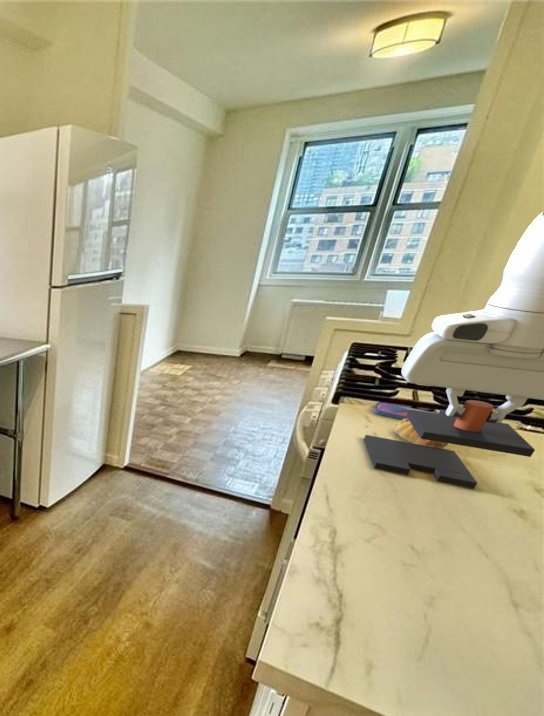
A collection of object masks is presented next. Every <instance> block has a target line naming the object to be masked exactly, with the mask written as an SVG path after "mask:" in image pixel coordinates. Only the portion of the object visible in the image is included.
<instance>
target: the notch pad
mask: <svg viewBox="0 0 544 716" xmlns="http://www.w3.org/2000/svg"><path fill="white" fill-rule="evenodd" d="M363 442H364V444H365V445H364V446H365V447H366V450H367V452H368V455H369V458H370V460H371V463H372V466H373V468H374V469H375V470H381V471H386V472H390V473H395V474H401V475H405V476H409V475H410V472H411V471H412V470H413V471H416V472H417V471H418V472H421V473H427V474H432V476H433V477H434V479H435V481H436V482H439V483H445V484H449V485H455V486H459V487H464V488H470V489H475V488H476V486H477V485H478V482H477V481H476V479H475V478H474V476H473V474H471V472H470V471H469V469H468V468H467V467H466V465H465V464H464V462H463V461H462V459H461V458H460V456H459V455H458V454H457V452H456V451H455V450H451V449H446V448H435V447H430V446H424V445H419V444H414V443H412V442H409V441H402V440H396V439H390V438H386V437H381V436H376V435H375V436H374V435H369V434H365V435H364V438H363Z"/></svg>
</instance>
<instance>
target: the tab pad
mask: <svg viewBox="0 0 544 716" xmlns="http://www.w3.org/2000/svg"><path fill="white" fill-rule="evenodd" d="M463 405H464V407H466V410H465V412H464V413H462V414H463V416H462V417H461V418H457V417H449V416H447V415H446V410H447V409H440V410H439V412H434V413H430V412H431V411H429V412H423V411H417V410H409V411H408V413H407V415H406V416H407V418H408V419H409V421H410V422H411V424H412V425H413V427H414V429H415V430H416V432H417V433H418V435H419V437H420V438H421V439H425V440H431V441H437V442H443V443H448V445H449V444H450V445H456V446H461V447H469V448H475V449H481V450H486V451H493V452H497V453H498V452H499V453H504V454H511V455H515V456H516V455H517V456H522V457H528V458H531V457H532V455H533V454H534V452H535V451H536V449H535V448H534V447H533V446H532V445H531V444H530V443H529V442H528V441H527V440H526V439H524V437H522V435H520V433H519V432H517V430H515V428H513V427H512V426H511V425H510V424H509V423H505V422H501V423H500V424H497V423H490V422H486V420H487V418H488V417H489V415H490V413H491V411H492V410H493V409H495V406H494V405H493V404H491V403H489V402H485V401H483V400H482V401H481V400H475V399H469V400H466V401H465V402H464V404H463ZM437 413H439V414H437Z"/></svg>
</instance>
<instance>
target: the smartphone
mask: <svg viewBox="0 0 544 716" xmlns="http://www.w3.org/2000/svg"><path fill="white" fill-rule="evenodd" d="M409 410H417V411H423V412H430V413H435V412H433V411H429V410H424V409H419V408H413V407H408V406H404V405H398V404H393V403H390V402H389V403H388V402H384V401H383V402H382V401H379V402H377V403H376V406H375V407H374V410H373V412H374V413H375V414H377V415H381V416H386V417H391V418H395V419H400V420H403V419H407V416H406V415H407V413H408V411H409ZM436 413H437V414H439V412H436Z"/></svg>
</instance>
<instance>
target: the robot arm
mask: <svg viewBox="0 0 544 716" xmlns="http://www.w3.org/2000/svg"><path fill="white" fill-rule="evenodd" d="M430 327H431V330H432V331H433V332H429V333H427V334H425V335H424V336H422V337H420V338H419V340H418V341H417V342H416V343H415V344H414V346H413V348H412V349H411V351H410V352H409V354H408V356H407V357H406V359H405V361H404V363H403V365H402V367H401V371H400V372H401V373H400V374H401V376H402V377H403V379H404V380H405V381H406V382H407V383H409V384H414V385H416V384H417V385H424V386H431V387H439V388H444V389H445V388H446V390H445V392H446V395H447V399H448V400H447V401H448V403H449V404H448V406H447V408H446V409H445V410H446V415H447V416H449V417H457V418H461V417H462V416H463V414H462V413H464V412H465V410H466V407H464V405H465V404H462V403H459V400H458V397H463V396H464V394H465V393H466V391H469V392H477V393H484V394H485V393H486V394H493V395H502V396H505V399H506V400H507V401H505V402H504V403H503V404H501V405H500V406H498V407H497V408H493V410H492V411H491V413H490V415H489V417H488V418H487V420H486V422H490V423H497V424H500V423H503V421H504V419H505V418H506V415H509V414H511V413H512V412H514V411H516V410H518V409H519V408H521V407H523V406H525V404H526V402H527V400H528V399H532V400H541V401H544V210H543V211H542V212H541V213H540V214H539V215H537V216H536V218H535V219H534V220H533V221H532V222H531V224H529V226H528V227H527V228H526V230H525V232H524V233H523V235H522V236H521V238H520V240H519V241H518V242H517V245H516V246H515V248H514V249H513V251H512V253H511V255H510V257H509V259H508V261H507V263H506V265H505V267H504V269H503V272H502V280H501V283H500V285H499V286H498V289H497V290H496V291H495V292H494V294H493V295H492V296H491V297H490V298H489V299H488V301H487V302H486V305H485V307H484V308H483V309H478V310H477V309H476V310H472V311H466V312H458V313H452V314H445V315H440V316H437V317H435V318H434V320H432V323H431V326H430Z"/></svg>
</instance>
